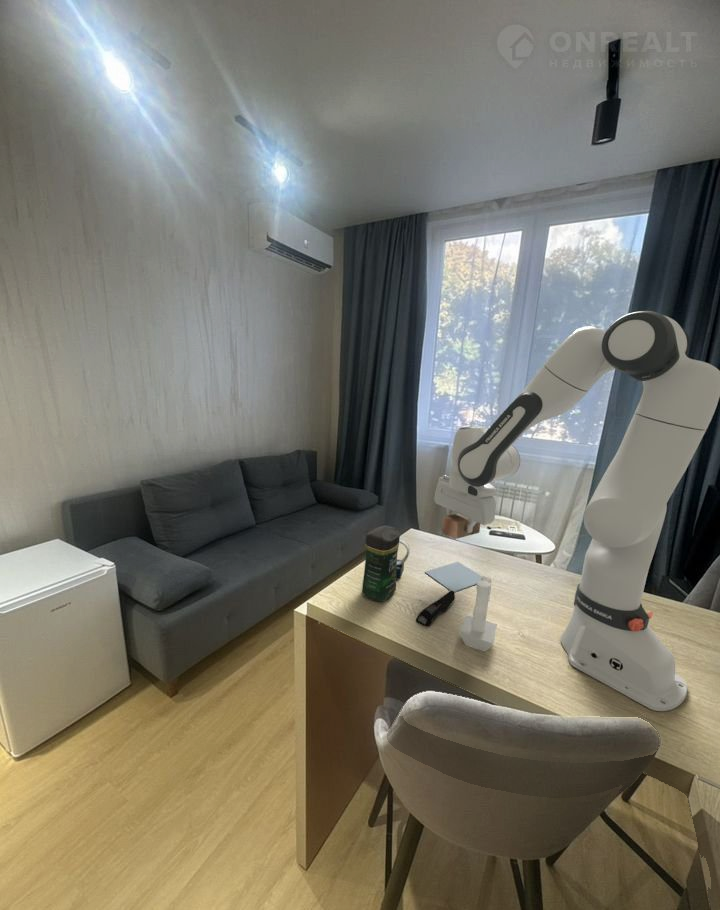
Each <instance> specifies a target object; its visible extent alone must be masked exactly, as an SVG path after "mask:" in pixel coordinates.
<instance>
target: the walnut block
mask: <svg viewBox="0 0 720 910" xmlns="http://www.w3.org/2000/svg"><path fill="white" fill-rule="evenodd" d="M442 521H443V522H442V530H441V531H442V534H444V535H446V536H448V537H450V538H451V539H454V540H456V539H460V538H465V537H468V536H472V535H477V534H480V533H481V532H480V530H481V524H480V523H478V522H477V523H476V524H475V525H474V526H473V530H472V532H471V533H468V532H466V531H464V529H465V525H468V524H469V523H470V522H468V518H467V517H465V516H462V515H460V514H458V513H454V514H453V515H445V516H443V520H442Z"/></svg>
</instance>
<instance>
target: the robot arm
mask: <svg viewBox="0 0 720 910" xmlns="http://www.w3.org/2000/svg"><path fill="white" fill-rule="evenodd" d="M690 343H691V342H690V338H689V335H688V333H687V331H686V330H685V328H684V327H682V326H681V325H680V324H679V323H678V322H677V321H676V320H675V319H673V318H671V317H669V316H667V315H664V314H662V313H659V312H657V311H656V312H655V311H651V310H641V311H635V312H630V313H627V314H625V315H623V316H621V317H619V318H618V319H617V320H615V321H614V322H612V324H611V325H610V326H609V327H608V328H607V329H606V330H604V329H602V328H600V327H596V326H595V327H594V326H583V327H579V328H577V329H576V330H575V331H573V332H572V333H571V334H570V335H569V336H568V337H566V339H565V340H564V341H563V342H561V344H559V346H557V348H556V349H555V350H554V351H553V352H552V353H551V354H550V355H549V357H547V359H546V361H545V362H544V363H543V365H542V366H541V367H540V368H539V370H538V371H537V372H536V374H535V375H534V376H533V377H532V379H531V380H530V381H529V382H528V384H527V385H526V387H525V388H524V389H523V390H522V391H521V392H520V393H519V394H518V396H517V397H516V398H515V399H514V400H513V401H512V402H511V403H510V404H509V405H508V406H507V407H506V408H505V410H504V411H503V412H502V413H501V414H500V415H499V417H498V418H497V419H496V420H495V421H494V422H493V423H492V424H491V425H490V427H489V428H488V429H486V427H484V426H481V425H473V426H462V427H460V428H457V430H456V431H455V434H454V438H453V440H452V441H453V443H452V449H451V459H452V461H451V463H452V464H451V466H450V469H449V476H448V475H446V474H442V475H440V476H439V477H438V480H437V484H436V488H435V492H434V498H433V499H434V503H435V504H437V505H438V506H441V507H443V508H445V509H446V514H447V515H446V516H448V515H453V514H460V515H462V516H465V517H467V518H468V522H470V523H469V524H468V525H465V529H464V531H466V532H468V533H471V532H472V530H473V526H474V525H475V524H476V523H477V522H478V523H480V525H481V526H485V525H491V524H492V523H493V522H494V521H495V516H496V505H497V503H496V499H495V497H494V496H495V495H497V489H496V487H495V486H494V485H492V484H491V483H493V482H497V481H499V480H502V479H505V478H508V477H511V476H513V475H515V474H516V473H517V471H518V470H519V468H520V466H521V457H520V454H519V451H518V449H517V448H516V447H515V446H514V445H513V444H515V443H516V441H517V440H519V438H520V437H521V436H522V435H523V434H524V433H525V432H527V430H529V429H531V428H532V427H533V426H536V425H538V424H540V423H542V422H544V421H547V420H550V419H552V418H555V417H558V416H560V415H563V414H565V413H567V412H568V411H569V410H571V409H572V408H573V407H574V406H575V405H577V404H578V403H579V402H580V401H581V400H582V399H583V398H584V397H585V396H586V395H587V394H588V393H589V391H591V389H592V388H593V387H594V386H595V385H596V383H598V381H599V380H600V379H601V378H602V377H603V376H605V374H607V373H609V372H611V371H614V370H617V371H618V372H620V373H623V374H625V375H627V376H629V377H631V378H633V379H634V380H635V381H638V382H642V385H643V388H642V389H643V390H642V395H641V397H640V399H639V401H638V404H637V407H636V409H635V411H634V413H633V416H632V418H631V420H630V423H629V425H628V427H627V429H626V431H625V434H624V435H623V436H624V437H623V438H622V440H621V442H620V445H619V447H618V449H617V451H616V453H615V456H614V457H613V459H612V460H611V461H610V463H609V465H608V467H607V469H606V471H605V472H604V474H603V476H602V478H601V479H600V481H599V483H598V485H597V487H596V488H595V490H594V493H593V494H592V496H591V498H590V500H589V502H588V503H587V506H586V508H585V510H584V512H583V525H584V528H585V530H586V532H587V533H588V534H589V536H590V537H591V540H590V543H589V546H588V548H587V550H586V552H585V556H584V561H583V566H582V567H583V568H582V571H581V576H580V577H581V578H580V581H579V583H578V584H577V587H576V590H575V594H574V599H573V601H574V602H573V611H572V614H571V617H570V619H569V621H568V625H567V626H566V628H565V630H564V631H563V633H562V634H561V638H560V641H561V645H562V647H563V648H564V650H565V651H566V653H567V655H568V660H569V661H568V662H569V664H570V665H571V666H572V667H574V668H576V669H577V670H579V671H581V672H582V673H584V674H587V676H590V677H591V678H593V679H595V680H597V681H599V682H601V683H602V684H604V685H606V686H608V687H610V688H611V689H614V690H615V691H617V692H619V693H620V694H622V695H624V696H626V697H628V698H629V699H632V700H633V701H635V702H637V703H638V704H641V705H642V706H645V707H646V708H648V709H650V710H652V711H657V712H666V711H667V712H668V711H671V710H674V709H675V708H677V707H678V706H680V705H682V703H683V702H684V701H685V699H686V698H687V695H688V685H687V682H686V680H685V679H684V677H682V676H681V675H679V674H678V673H676V660H675V657H674V654H673V653H672V651H671V650H670V649H669V648H668V647H667V646H666V645H665V644H664V642H663V641H662V640H661V639H660V637H659V636H658V635H656V633H655V632H654V631H653V630H652V628H651V627H650V626H649V623H650V619H652V618H653V617H652V616H653V613H654V612H653V611H650V612H648V613H647V612H646V610H645V608H644V607H643V605H642V600H643V594H644V592H645V591H644V590H645V585H646V581H647V577H648V573H649V569H650V567H651V563H652V560H653V557H654V555H655V552H656V549H657V544H658V542H659V539H660V535H661V533H662V529H663V526H664V523H665V518H666V513H667V509H668V507H667V505H668V504H667V503H668V502H669V500H670V498H671V496H672V494H673V493H674V491H675V489H676V487H677V486H678V484H679V482H680V481H681V479H682V478H683V476H684V474H685V473H686V471H687V468H688V467H689V466H690V463H691V461H692V459H693V457H694V455H695V453H696V451H697V449H698V447H699V445H700V443H701V441H702V440H703V437H704V435H705V433H706V432H707V430H708V428H709V425H710V423H711V421H712V419H713V416H714V414H715V412H716V409H717V406H718V403H719V401H720V369H718V368H717V367H716V366H714V365H712V364H711V363H708V362H705V361H702V360H698V359H697V360H696V359H692V358H690V357H688V356H687V355H688V354H689V350H690Z"/></svg>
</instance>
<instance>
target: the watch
mask: <svg viewBox="0 0 720 910" xmlns="http://www.w3.org/2000/svg"><path fill="white" fill-rule="evenodd" d="M399 539H400V540H399V544H402V545H403V546H404V547H405V548H406V554H405V555H404V557H403V558H401V559H398V558H397V567H396V579H399V580H400V579H401V578H402V574H403V572H404V570H405V569H404V567H405V563H406V561H407V559H408V558H409V555H410V553H411V552H410V551H411V549H410V546H409V544H408V542H407V541H406V540H404V539H403V538H399Z"/></svg>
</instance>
